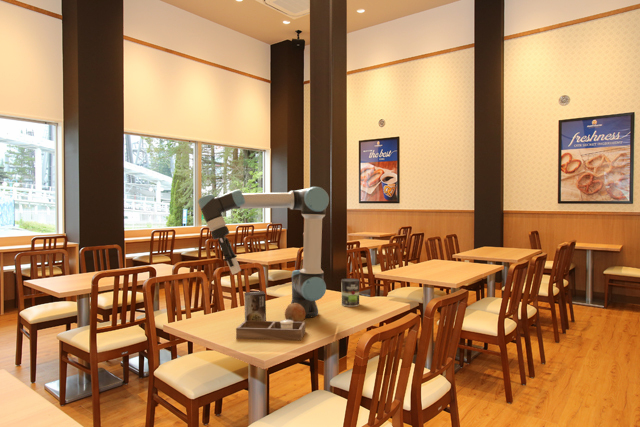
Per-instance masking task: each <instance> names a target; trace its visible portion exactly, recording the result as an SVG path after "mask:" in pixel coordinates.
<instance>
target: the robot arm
mask: <svg viewBox="0 0 640 427" xmlns="http://www.w3.org/2000/svg"><path fill="white" fill-rule="evenodd" d="M329 202H330V197H329V194H328V192H327V191H326V190H325V189H323V187H320V186H311V187H305V188H303V189H297V190H289V191H288V192H245V193H243V192H242V190H241V189H240V188H239V189H235V190H234V189H233V190H232V191H229V192H226V193H224V194H221V195H219V196H215V195H214V194H212V193H209V194H207V195H203V196H202V197H200V198H199V199H198V201H197V203H198V205H199V208H200V211H201V213H202V215H203V217H204V220H205V222H206V224H207V225H206V228H208V229H209V231H210V234H211V236H212V239H213V240H214V241H215V240H217V241H218V244H219V246H220V248H221V251H222V253H223V257H224V258H223V261H224V262H226V264H227V265H228V267H229V270H230V273H231V275H232V276H233V275H235V274H238V273H239V272H241V271H242V269H241V267H240V264H239V262H238V260H237V257H238V256H237V254H235V251H234V249H233V248H232V246H231V243H230V240H229V238H227V235H229V234H230V230H229V228H228V226H227V225H226V220H225V218H224V216H223V213H225V212H228V211H230V210H239V209H240V210H241V209H278V208H279V209H287V208H288V209H289V210H299V211H301V216H302V217H303V218H304V222H303V223H304V224H303V252H302V253H303V257H302V268H301V269H296V270H292V272H291V301H290V304H292V303H298V304H300V305H301V306H302V307H303V308H304V309H305V319H309V318H313V317H317V316H318V315H319V308H318V305H317V302H316V301H319V300H320V299H322V298H323V297H324V296H325V294H326V292H327V285H326V282H325V280H324V273H325V272H324V270H322V268H321V267H322V264H321V263H322V239H323V238H322V236H323V234H322V231H323V219H324V218H325V216H326V214H327V213H326V212H327V210H326V209H327V207H328V205H329Z"/></svg>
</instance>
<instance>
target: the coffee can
mask: <svg viewBox="0 0 640 427" xmlns="http://www.w3.org/2000/svg"><path fill="white" fill-rule="evenodd" d="M340 282H341V289H340V290H341V306H343V307H345V308H346V307H348V308H349V307H353V308H354V307H359V306H360V279H358V278H342V279H341V280H340Z"/></svg>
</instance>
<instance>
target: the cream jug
mask: <svg viewBox="0 0 640 427" xmlns="http://www.w3.org/2000/svg"><path fill="white" fill-rule="evenodd" d="M280 324H281V329H293V320H286V319H282V320H280Z"/></svg>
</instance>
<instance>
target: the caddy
mask: <svg viewBox="0 0 640 427" xmlns="http://www.w3.org/2000/svg"><path fill="white" fill-rule="evenodd" d="M280 321H281V320H280ZM280 321H278V320H266V321H245V320H244V321H243V322H241V323H240V324H239V325H238V326H237V327H236V328H235V329H236V330H235V332H236V334H235V335H236V336H235V338H236V339H237V340H238V339H239V340H240V339H242V340H266V341H267V340H271V341H273V340H274V341H300V342H301V341H302V339H303V337H304V335H305V334H306V321H303V322H293V329H281V324H280Z"/></svg>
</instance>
